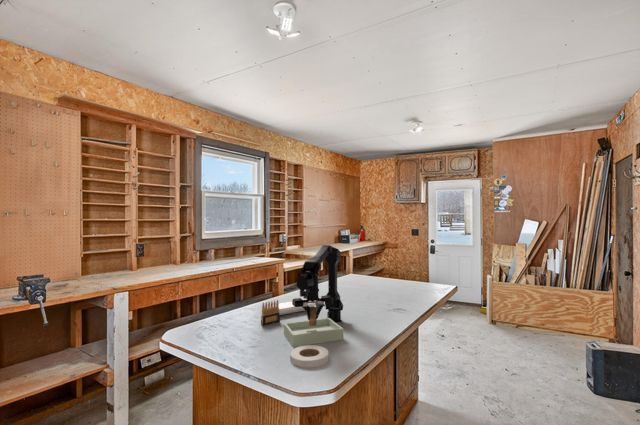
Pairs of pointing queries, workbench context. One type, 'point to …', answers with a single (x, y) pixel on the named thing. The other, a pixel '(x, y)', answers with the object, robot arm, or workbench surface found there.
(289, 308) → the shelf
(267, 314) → the ammunition clip
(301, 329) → the box
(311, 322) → the peg
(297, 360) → the roll of tape
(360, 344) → the workbench surface
